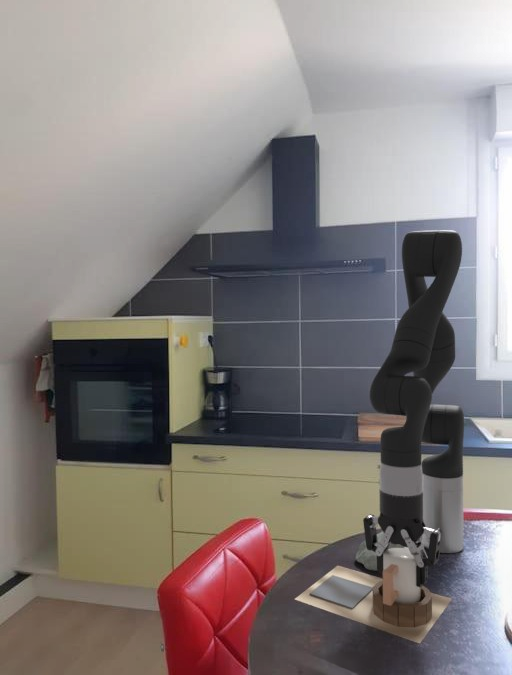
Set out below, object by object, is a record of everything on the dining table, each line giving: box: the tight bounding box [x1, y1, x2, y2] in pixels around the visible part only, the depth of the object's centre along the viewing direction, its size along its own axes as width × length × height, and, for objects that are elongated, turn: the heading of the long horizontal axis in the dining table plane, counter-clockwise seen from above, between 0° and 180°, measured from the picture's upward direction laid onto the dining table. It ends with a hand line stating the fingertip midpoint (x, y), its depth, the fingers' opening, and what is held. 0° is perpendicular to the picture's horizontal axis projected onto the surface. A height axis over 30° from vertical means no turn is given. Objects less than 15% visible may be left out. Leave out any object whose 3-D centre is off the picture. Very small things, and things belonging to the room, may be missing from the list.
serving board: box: [294, 565, 453, 645], centre depth 101 cm, size 17×24×5 cm
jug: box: [382, 547, 421, 606], centre depth 96 cm, size 11×6×10 cm, turn 144°
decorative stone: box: [355, 530, 404, 572], centre depth 116 cm, size 13×11×10 cm
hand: (401, 579), depth 97 cm, fingers closed on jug, 6 cm apart
